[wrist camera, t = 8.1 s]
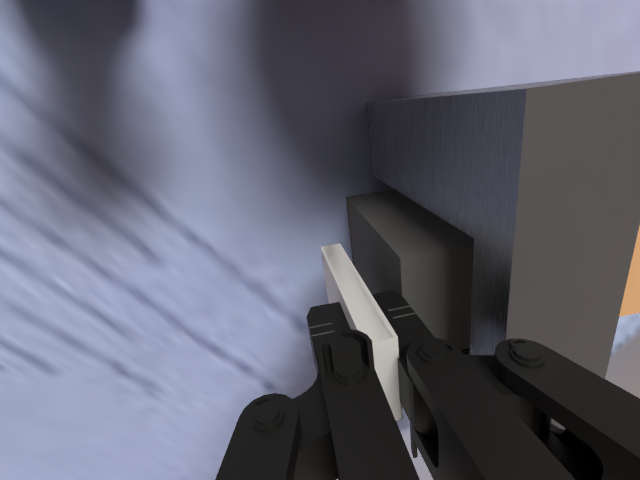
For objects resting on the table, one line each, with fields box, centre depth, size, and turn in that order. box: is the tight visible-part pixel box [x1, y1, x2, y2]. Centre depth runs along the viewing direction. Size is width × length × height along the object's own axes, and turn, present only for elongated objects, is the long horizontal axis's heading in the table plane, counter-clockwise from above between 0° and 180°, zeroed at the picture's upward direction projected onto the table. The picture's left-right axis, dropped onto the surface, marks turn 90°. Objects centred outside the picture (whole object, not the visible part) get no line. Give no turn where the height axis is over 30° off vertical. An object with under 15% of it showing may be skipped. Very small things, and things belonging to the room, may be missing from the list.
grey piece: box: [367, 71, 640, 430], centre depth 14 cm, size 3×13×11 cm, turn 7°
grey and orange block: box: [346, 189, 640, 350], centre depth 15 cm, size 12×4×8 cm, turn 97°
